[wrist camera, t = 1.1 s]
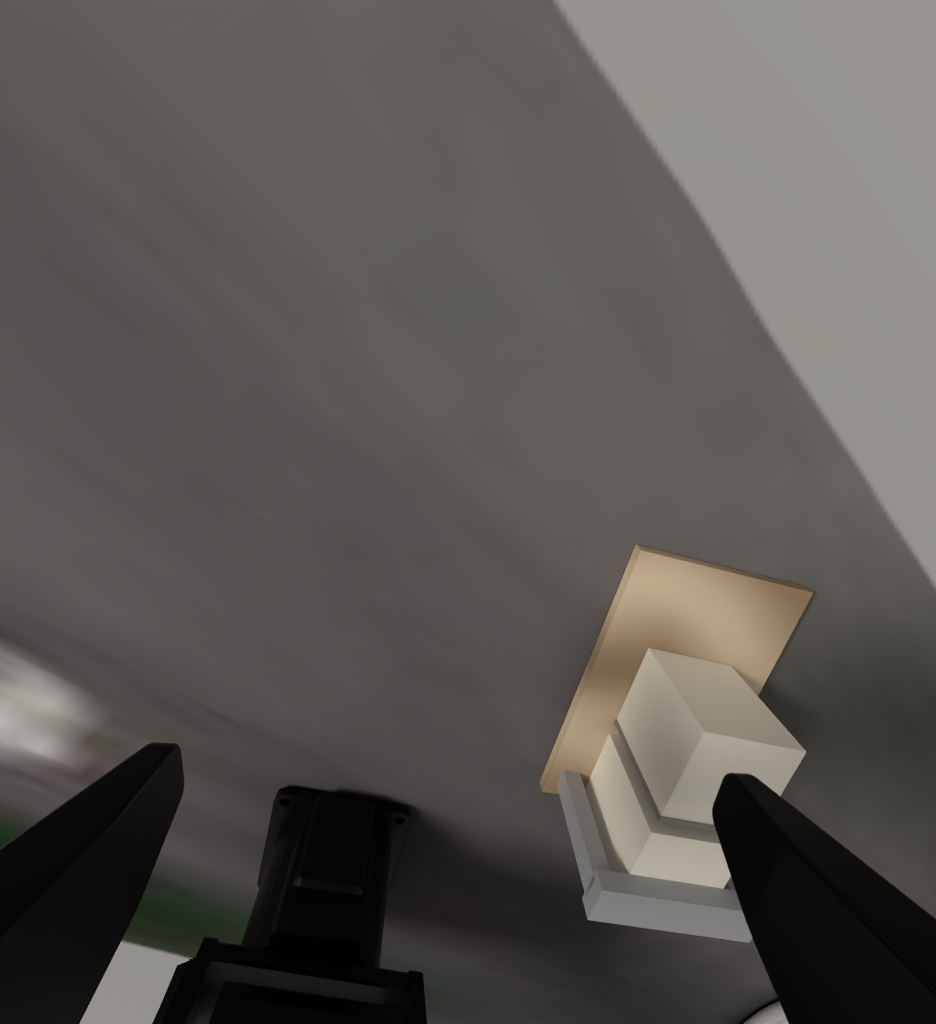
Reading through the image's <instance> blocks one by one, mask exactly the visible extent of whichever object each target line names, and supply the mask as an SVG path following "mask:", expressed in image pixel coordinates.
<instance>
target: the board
mask: <svg viewBox="0 0 936 1024" xmlns="http://www.w3.org/2000/svg"><path fill="white" fill-rule="evenodd" d="M812 595H813V592H812V591H810V590H809V589H808V588H806V587H805V586H801V585H797V584H793V583H789V582H785V581H781V580H777V579H773V578H769V577H765V576H761V575H757V574H753V573H749V572H745V571H740V570H736V569H732V568H728V567H724V566H720V565H716V564H712V563H708V562H704V561H700V560H696V559H692V558H688V557H684V556H680V555H676V554H672V553H668V552H664V551H660V550H656V549H652V548H647V547H643V546H639V545H636V546H635V548H634V551H633V553H632V555H631V558H630V560H629V563H628V565H627V568H626V570H625V573H624V575H623V578H622V580H621V583H620V585H619V587H618V590H617V592H616V595H615V597H614V600H613V602H612V605H611V607H610V610H609V612H608V615H607V617H606V619H605V622H604V624H603V627H602V629H601V632H600V634H599V637H598V639H597V642H596V644H595V647H594V649H593V651H592V654H591V656H590V659H589V661H588V664H587V666H586V669H585V671H584V674H583V676H582V679H581V681H580V684H579V686H578V688H577V691H576V693H575V696H574V698H573V701H572V703H571V706H570V708H569V711H568V713H567V716H566V718H565V720H564V723H563V725H562V728H561V730H560V733H559V735H558V738H557V740H556V743H555V745H554V748H553V750H552V752H551V755H550V757H549V760H548V762H547V765H546V767H545V770H544V772H543V775H542V777H541V780H540V784H541V789H542V792H548V793H553V794H559V791H558V787H557V785H558V782H559V780H560V778H561V775H562V773H563V770H568V771H573V772H579V773H580V776H581V779H582V782H583V785H584V788H586V786H587V783H588V781H589V779H590V776H591V774H592V772H593V770H594V767H595V765H596V763H597V761H598V758H599V756H600V754H601V752H602V749H603V747H604V745H605V743H606V740H607V738H608V736H609V734H614V735H619V736H620V734H619V732H618V730H617V728H616V725H615V723H614V721H615V719H617V717H618V715H619V713H620V710H621V708H622V706H623V704H624V701H625V699H626V697H627V695H628V692H629V690H630V688H631V686H632V683H633V681H634V679H635V677H636V674H637V672H638V670H639V668H640V665H641V663H642V661H643V659H644V656H645V654H646V652H647V650H648V648H652V649H657V650H661V651H666V652H671V653H675V654H680V655H684V656H689V657H693V658H698V659H702V660H707V661H712V662H716V663H721V664H725V665H730V666H732V668H733V669H734V670H735V671H736V672H737V673H738V674H739V676H740V677H741V678H742V679H743V680H744V681H745V682H746V683H747V685H748V686H749V687H750V688H751V689H752V690H753V691H754V693H755V694H756V695H757V696H758V695H759V693H760V692H761V690H762V688H763V686H764V684H765V682H766V680H767V679H768V677H769V675H770V673H771V671H772V669H773V667H774V666H775V664H776V662H777V660H778V658H779V656H780V654H781V653H782V651H783V649H784V647H785V645H786V643H787V641H788V640H789V638H790V636H791V634H792V632H793V630H794V629H795V627H796V625H797V623H798V621H799V619H800V617H801V616H802V614H803V612H804V610H805V608H806V606H807V604H808V603H809V601H810V599H811V597H812Z"/></svg>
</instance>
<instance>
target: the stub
mask: <svg viewBox="0 0 936 1024" xmlns="http://www.w3.org/2000/svg"><path fill="white" fill-rule="evenodd" d="M614 723H615V725H616V728H617V730H618V732H619V734H620V736H621V739H622V741H623V743H624V745H625V748H626V750H627V752H628V754H629V757H630V759H631V761H632V763H633V765H634V768H635V770H636V772H637V774H638V777H639V779H640V781H641V783H642V786H643V788H644V790H645V792H646V795H647V797H648V799H649V801H650V803H651V806H652V808H653V810H654V812H655V815H656V817H657V819H658V821H659V822H662V823H667V824H673V825H679V826H685V827H691V828H697V829H702V830H708V831H714V832H716V829H715V826H714V823H713V818H712V807H713V804H714V801H715V798H716V796H717V793H718V790H719V788H720V785H721V782H722V780H723V778H724V776H725V775H726V774H727V773H747V774H751V775H753V776H755V777H756V778H758V779H759V780H760V781H762V782H763V783H764V784H765V785H767V786H768V787H769V788H770V789H772V790H773V791H774V792H775V793H777V794H778V795H779V796H781V794H782V792H783V791H784V789H785V787H786V786H787V784H788V782H789V781H790V779H791V777H792V776H793V774H794V772H795V771H796V769H797V767H798V766H799V764H800V762H801V761H802V759H803V757H804V756H805V754H806V751H805V750H804V748H803V747H802V746H801V745H800V744H799V743H798V742H797V740H796V739H795V738H794V737H793V736H792V735H791V734H790V732H789V731H788V730H787V729H786V728H785V727H784V726H783V724H782V723H781V722H780V721H779V720H778V719H777V718H776V717H775V715H774V714H773V713H772V712H771V711H770V710H769V709H768V707H767V706H766V705H765V704H764V703H763V702H762V701H761V699H760V698H759V697H758V696H757V695H756V694H755V693H754V691H753V690H752V689H751V688H750V687H749V686H748V685H747V683H746V682H745V681H744V680H743V679H742V678H741V677H740V676H739V674H738V673H737V672H736V671H735V670H734V669H733V668H732V666H730V665H725V664H721V663H716V662H712V661H707V660H702V659H698V658H693V657H689V656H684V655H680V654H675V653H671V652H666V651H661V650H657V649H652V648H648V650H647V652H646V654H645V656H644V659H643V661H642V663H641V665H640V668H639V670H638V672H637V674H636V677H635V679H634V681H633V683H632V686H631V688H630V690H629V692H628V695H627V697H626V699H625V701H624V704H623V706H622V708H621V710H620V713H619V715H618V717H617V719H615V721H614Z"/></svg>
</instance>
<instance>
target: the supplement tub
mask: <svg viewBox="0 0 936 1024" xmlns="http://www.w3.org/2000/svg"><path fill="white" fill-rule="evenodd" d="M743 1024H789V1023H788V1021H787V1018H786V1016H785V1014H784V1011H783V1009H782V1007H781V1004H780V1002H779V1001H778V1002H776V1003H773V1004H771V1005H769V1006H768V1007H766V1008H764V1009H762V1010H760V1011H759V1012H757V1013H756V1014H754V1015H753V1016H752V1017H750V1018H749V1019H748V1020H747V1021H745V1022H744V1023H743Z"/></svg>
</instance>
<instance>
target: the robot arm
mask: <svg viewBox="0 0 936 1024" xmlns="http://www.w3.org/2000/svg"><path fill="white" fill-rule="evenodd" d="M183 790H184V774H183V765H182V756H181V749H180V747H179V745H178V744H175V743H159V742H154V743H150V744H148V745H146V746H145V747H143V748H142V749H140V750H139V751H137V752H136V753H135V754H133V755H132V756H130V757H129V758H128V759H126V760H125V761H123V762H122V763H120V764H119V765H118V766H116V767H115V768H113V769H112V770H111V771H109V772H108V773H106V774H105V775H104V776H102V777H101V778H99V779H98V780H96V781H95V782H94V783H92V784H91V785H89V786H88V787H87V788H85V789H84V790H82V791H81V792H79V793H78V794H77V795H75V796H74V797H72V798H71V799H70V800H68V801H67V802H65V803H64V804H63V805H61V806H60V807H58V808H57V809H55V810H54V811H53V812H51V813H50V814H48V815H47V816H46V817H44V818H43V819H41V820H40V821H38V822H37V823H36V824H34V825H33V826H31V827H30V828H29V829H27V830H26V831H24V832H23V833H22V834H20V835H19V836H17V837H16V838H14V839H13V840H12V841H10V842H9V843H7V844H6V845H5V846H3V847H2V848H0V1024H79V1023H80V1021H81V1019H82V1017H83V1015H84V1013H85V1011H86V1009H87V1007H88V1005H89V1003H90V1001H91V999H92V997H93V995H94V993H95V991H96V989H97V987H98V985H99V983H100V982H101V979H102V977H103V975H104V973H105V971H106V970H107V968H108V966H109V964H110V962H111V960H112V958H113V956H114V954H115V952H116V950H117V948H118V946H119V944H120V942H121V940H122V938H123V936H124V934H125V932H126V930H127V928H128V926H129V924H130V922H131V920H132V918H133V916H134V914H135V912H136V910H137V907H138V905H139V903H140V900H141V898H142V896H143V893H144V891H145V889H146V886H147V884H148V881H149V879H150V876H151V873H152V871H153V868H154V866H155V863H156V861H157V858H158V856H159V853H160V851H161V848H162V846H163V843H164V841H165V838H166V836H167V833H168V831H169V828H170V826H171V823H172V821H173V818H174V815H175V813H176V810H177V808H178V805H179V803H180V800H181V798H182V794H183ZM284 798H286V799H284ZM712 818H713V823H714V826H715V829H716V832H717V835H718V838H719V841H720V844H721V847H722V851H723V854H724V857H725V860H726V863H727V866H728V869H729V872H730V875H731V878H732V881H733V884H734V887H735V890H736V893H737V896H738V899H739V903H740V906H741V909H742V911H743V914H744V917H745V920H746V923H747V925H748V928H749V930H750V933H751V935H752V938H753V940H754V943H755V945H756V947H757V950H758V952H759V955H760V957H761V959H762V962H763V964H764V966H765V969H766V971H767V973H768V976H769V978H770V981H771V983H772V985H773V988H774V990H775V992H776V995H777V997H778V999H779V1002H780V1004H781V1007H782V1009H783V1011H784V1014H785V1016H786V1018H787V1021H788V1023H789V1024H936V919H935V918H934V917H933V916H931V915H930V914H929V913H927V912H926V911H925V910H924V909H922V908H921V907H920V906H919V905H917V904H916V903H915V902H914V901H912V900H911V899H910V898H908V897H907V896H906V895H905V894H903V893H902V892H901V891H900V890H898V889H897V888H896V887H895V886H893V885H892V884H891V883H889V882H888V881H887V880H886V879H884V878H883V877H882V876H881V875H879V874H878V873H877V872H876V871H874V870H873V869H872V868H870V867H869V866H868V865H867V864H865V863H864V862H863V861H862V860H860V859H859V858H858V857H857V856H855V855H854V854H853V853H851V852H850V851H849V850H848V849H846V848H845V847H844V846H843V845H841V844H840V843H839V842H838V841H836V840H835V839H834V838H832V837H831V836H830V835H829V834H827V833H826V832H825V831H824V830H822V829H821V828H820V827H819V826H817V825H816V824H815V823H813V822H812V821H811V820H810V819H808V818H807V817H806V816H805V815H803V814H802V813H801V812H800V811H798V810H797V809H796V808H794V807H793V806H792V805H791V804H789V803H788V802H787V801H786V800H784V799H783V798H782V797H781V796H779V795H778V794H777V793H775V792H774V791H773V790H772V789H770V788H769V787H768V786H767V785H765V784H764V783H763V782H762V781H760V780H759V779H758V778H756V777H755V776H753V775H751V774H747V773H727V774H726V775H725V776H724V778H723V780H722V782H721V785H720V788H719V790H718V793H717V796H716V798H715V801H714V804H713V807H712ZM409 823H410V811H409V809H408V808H407V807H404V806H400V805H394V804H388V803H381V802H375V801H369V800H363V799H357V798H351V797H345V796H339V795H333V794H326V793H320V792H314V791H308V790H302V789H296V788H290V787H284V788H281V789H280V790H278V792H277V794H276V797H275V800H274V804H273V809H272V814H271V819H270V824H269V829H268V834H267V839H266V844H265V848H264V853H263V858H262V863H261V868H260V873H259V878H258V886H259V891H258V894H257V897H256V900H255V904H254V907H253V910H252V913H251V916H250V919H249V922H248V925H247V928H246V931H245V934H244V937H243V940H242V943H241V945H236V944H230V943H223V942H218V940H219V939H218V938H212V937H206V936H205V937H204V939H203V942H202V944H201V946H200V949H199V951H198V953H197V956H196V957H193V959H190V960H189V961H187V962H185V963H182V964H180V965H178V966H177V968H176V970H175V972H174V975H173V977H172V980H171V982H170V984H169V987H168V989H167V991H166V994H165V996H164V998H163V1001H162V1003H161V1006H160V1008H159V1010H158V1012H157V1015H156V1017H155V1019H154V1021H153V1023H152V1024H427V1019H426V1007H425V995H424V983H423V973H422V972H417V971H411V970H409V972H408V973H406V972H400V971H393V970H387V969H381V968H379V967H380V957H381V947H382V936H383V926H384V916H385V905H386V896H387V893H388V890H389V886H390V883H391V880H392V877H393V874H394V871H395V867H396V864H397V861H398V858H399V855H400V852H401V848H402V845H403V842H404V839H405V836H406V832H407V829H408V826H409Z"/></svg>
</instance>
